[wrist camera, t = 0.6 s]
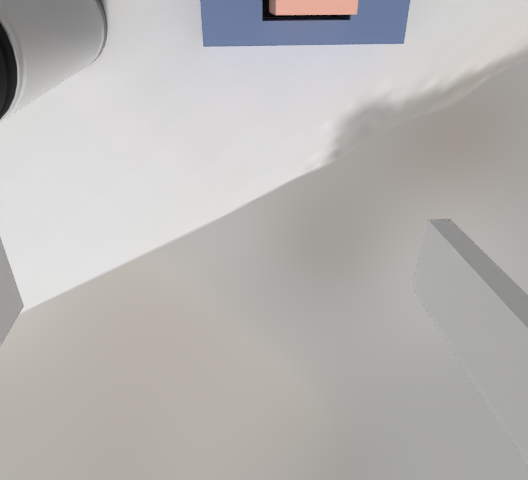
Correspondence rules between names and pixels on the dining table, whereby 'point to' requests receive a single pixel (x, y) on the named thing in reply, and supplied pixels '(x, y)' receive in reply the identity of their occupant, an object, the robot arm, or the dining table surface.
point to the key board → (302, 25)
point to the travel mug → (45, 46)
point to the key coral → (313, 7)
